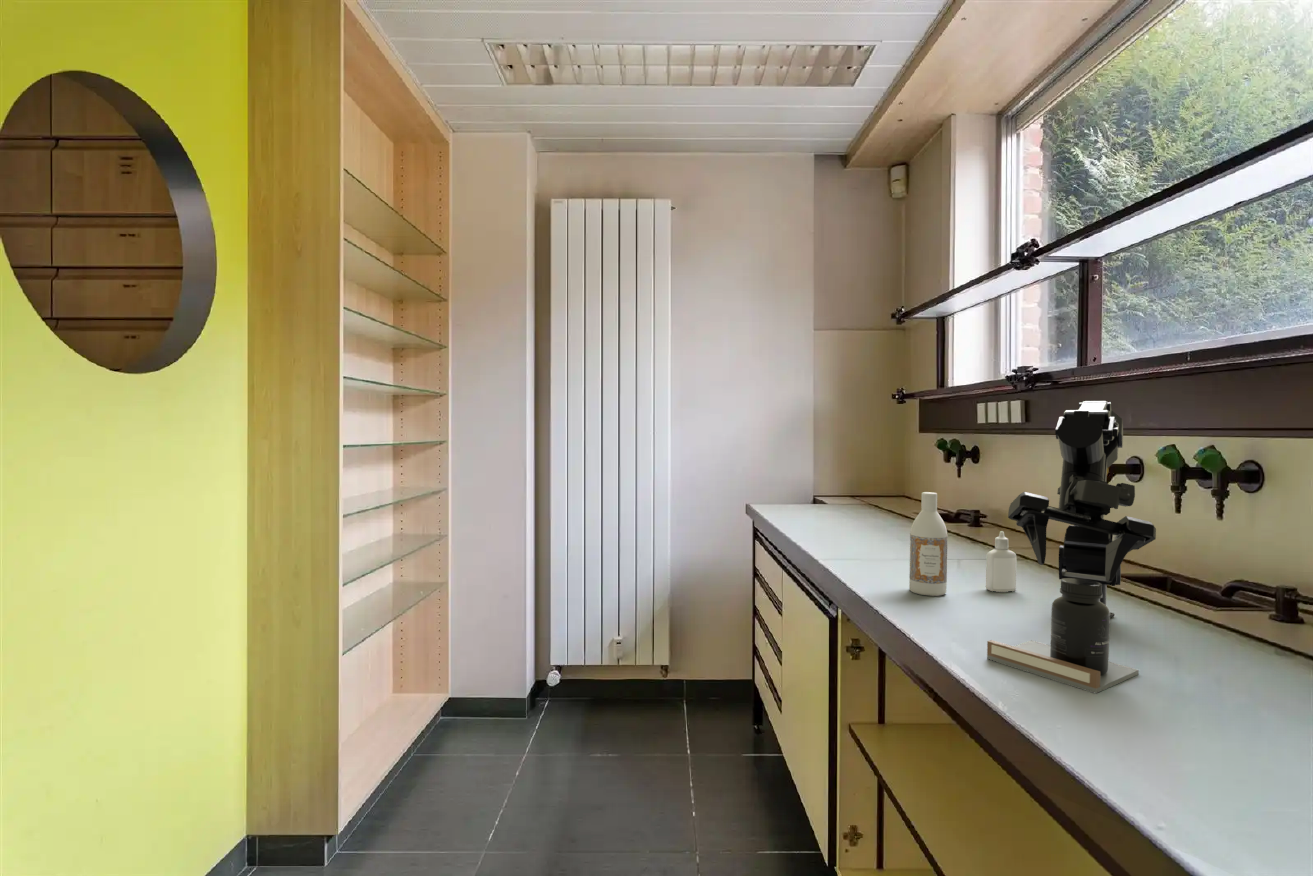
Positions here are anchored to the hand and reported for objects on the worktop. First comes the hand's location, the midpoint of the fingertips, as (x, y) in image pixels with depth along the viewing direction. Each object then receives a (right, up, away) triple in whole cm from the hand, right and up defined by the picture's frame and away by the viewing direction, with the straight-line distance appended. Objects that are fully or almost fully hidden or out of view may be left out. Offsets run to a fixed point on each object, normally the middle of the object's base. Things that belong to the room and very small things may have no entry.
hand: (1075, 572), depth 101 cm
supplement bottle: (-4, -12, -8) cm, 15 cm away
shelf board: (-5, -12, -5) cm, 14 cm away
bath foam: (-8, -11, +35) cm, 38 cm away
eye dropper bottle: (+8, -11, +37) cm, 39 cm away
